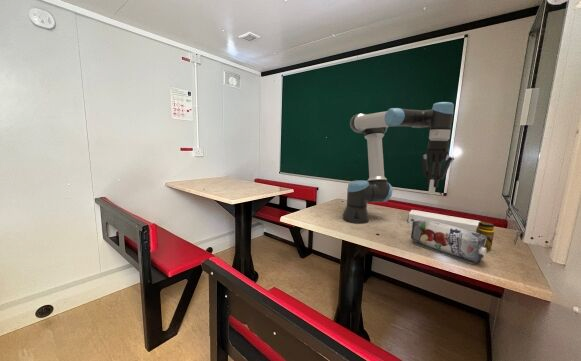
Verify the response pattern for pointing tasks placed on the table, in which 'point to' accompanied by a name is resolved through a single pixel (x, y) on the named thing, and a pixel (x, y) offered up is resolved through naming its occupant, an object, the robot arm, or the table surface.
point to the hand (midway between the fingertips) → (431, 194)
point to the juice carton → (449, 239)
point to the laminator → (444, 220)
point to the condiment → (486, 230)
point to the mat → (446, 253)
